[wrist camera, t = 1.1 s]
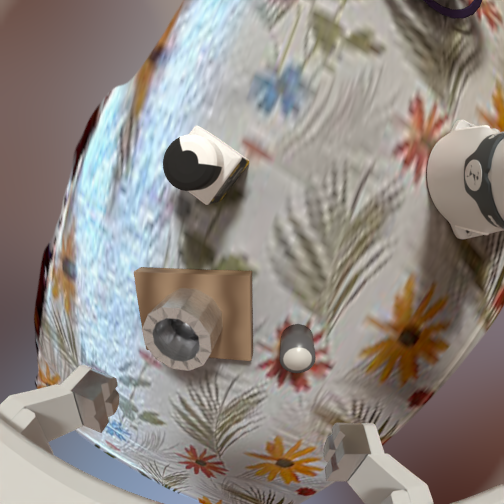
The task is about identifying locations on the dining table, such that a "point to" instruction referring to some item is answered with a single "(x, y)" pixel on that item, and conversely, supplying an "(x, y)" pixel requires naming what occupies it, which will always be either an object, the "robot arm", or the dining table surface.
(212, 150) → the medicine bottle
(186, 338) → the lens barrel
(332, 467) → the robot arm
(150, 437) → the dining table surface
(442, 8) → the decorative bottle
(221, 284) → the mounting block
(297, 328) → the gray white-topped cylinder
